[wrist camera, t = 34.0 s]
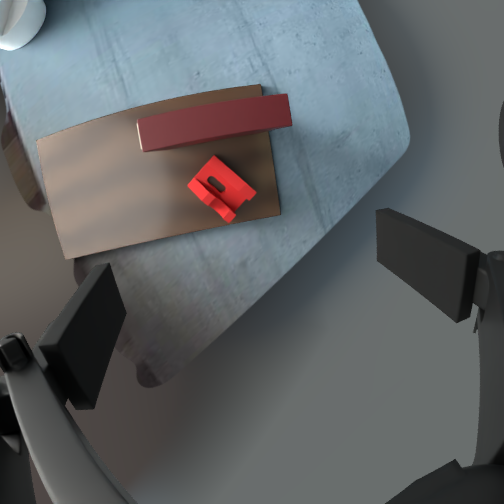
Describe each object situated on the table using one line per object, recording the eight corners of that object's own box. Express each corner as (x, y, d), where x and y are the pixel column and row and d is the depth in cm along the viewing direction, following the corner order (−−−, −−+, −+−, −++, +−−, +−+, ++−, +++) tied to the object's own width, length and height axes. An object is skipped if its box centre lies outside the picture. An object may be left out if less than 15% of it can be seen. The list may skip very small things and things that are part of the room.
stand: (279, 213, 42) (280, 215, 41) (68, 257, 39) (65, 260, 38) (259, 85, 36) (260, 83, 35) (39, 140, 33) (36, 140, 32)
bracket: (252, 188, 39) (256, 192, 37) (226, 217, 40) (228, 223, 37) (213, 154, 37) (214, 155, 34) (187, 184, 38) (186, 188, 35)
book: (257, 133, 37) (292, 125, 22) (166, 150, 36) (141, 152, 21) (253, 113, 36) (287, 93, 21) (162, 130, 35) (135, 119, 20)
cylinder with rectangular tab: (39, 43, 28) (-5, 20, 17) (-7, 56, 27) (-54, 42, 16) (52, -9, 26) (16, -41, 14) (5, 6, 24) (-35, -17, 13)
